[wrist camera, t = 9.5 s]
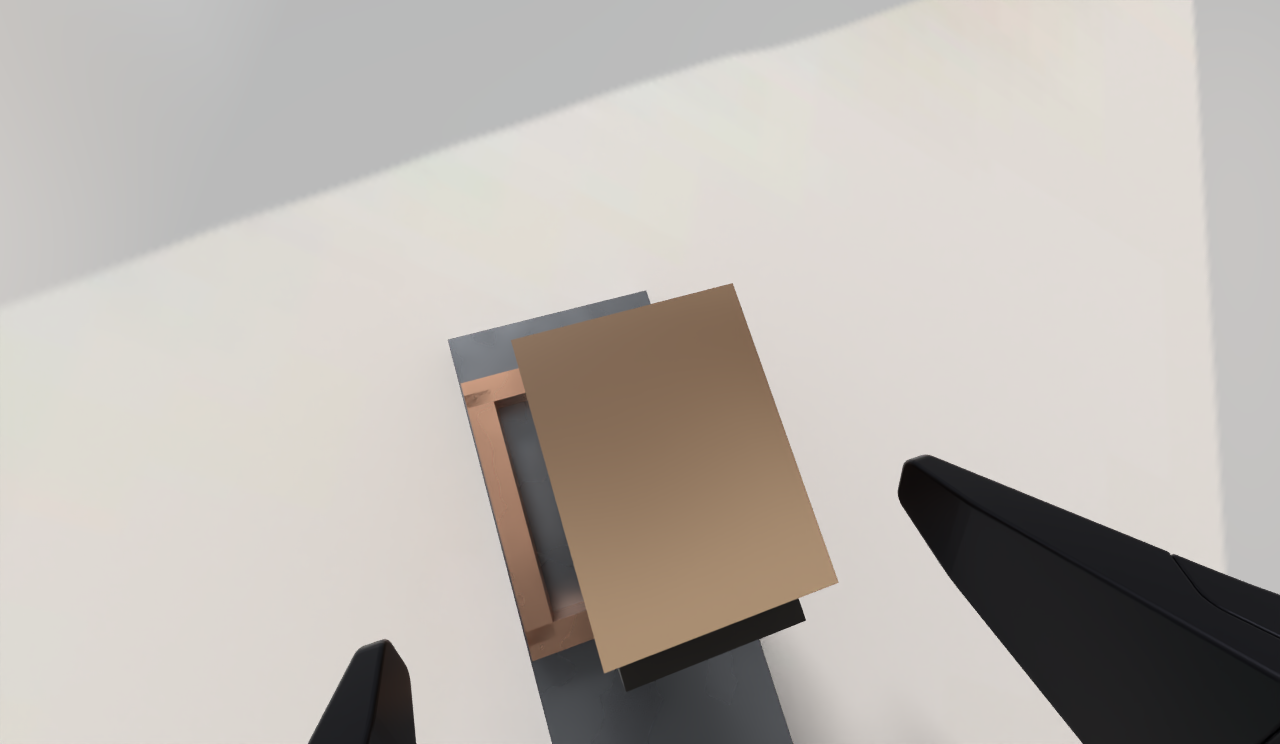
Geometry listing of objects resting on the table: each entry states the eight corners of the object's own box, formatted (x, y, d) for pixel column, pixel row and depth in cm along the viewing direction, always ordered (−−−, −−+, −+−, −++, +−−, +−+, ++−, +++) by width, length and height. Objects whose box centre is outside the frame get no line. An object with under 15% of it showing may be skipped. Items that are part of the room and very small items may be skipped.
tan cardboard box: (666, 546, 18) (856, 633, 7) (577, 577, 18) (619, 729, 6) (624, 411, 19) (732, 283, 8) (538, 437, 19) (510, 340, 7)
